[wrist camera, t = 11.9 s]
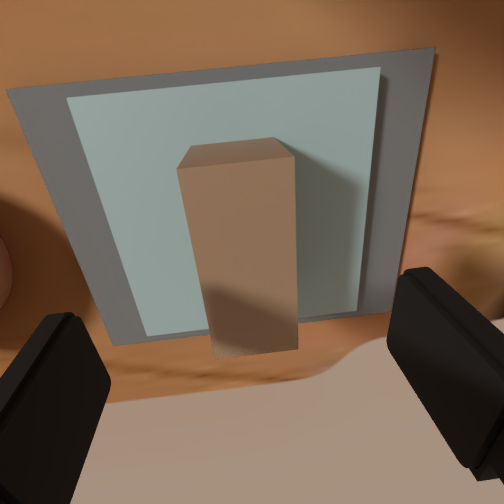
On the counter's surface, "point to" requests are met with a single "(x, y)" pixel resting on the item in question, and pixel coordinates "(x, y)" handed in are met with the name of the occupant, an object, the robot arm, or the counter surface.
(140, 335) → the mat
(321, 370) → the counter surface
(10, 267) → the bowl
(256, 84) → the cover
